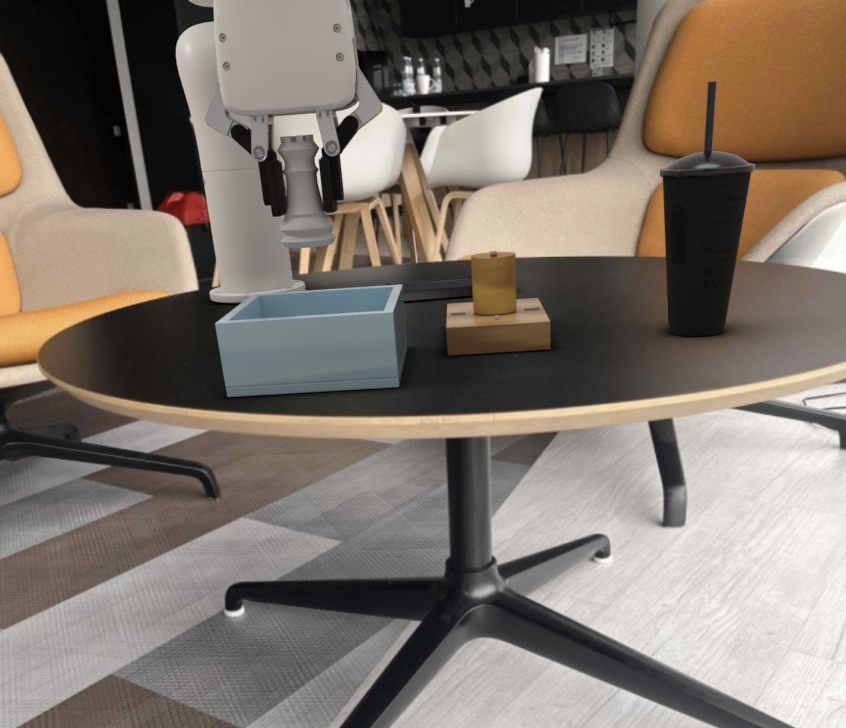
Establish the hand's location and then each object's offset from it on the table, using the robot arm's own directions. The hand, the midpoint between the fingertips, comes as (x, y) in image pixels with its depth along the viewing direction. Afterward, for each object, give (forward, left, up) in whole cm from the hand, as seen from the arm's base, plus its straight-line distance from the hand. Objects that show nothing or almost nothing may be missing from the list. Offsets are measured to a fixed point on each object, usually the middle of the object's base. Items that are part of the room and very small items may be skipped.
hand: (305, 211), depth 69 cm
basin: (0, 0, -13) cm, 13 cm away
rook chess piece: (0, 0, -3) cm, 3 cm away
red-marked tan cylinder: (-9, +15, -10) cm, 20 cm away
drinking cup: (-7, +33, -13) cm, 36 cm away
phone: (-37, +10, -13) cm, 40 cm away
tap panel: (-9, +15, -13) cm, 22 cm away
